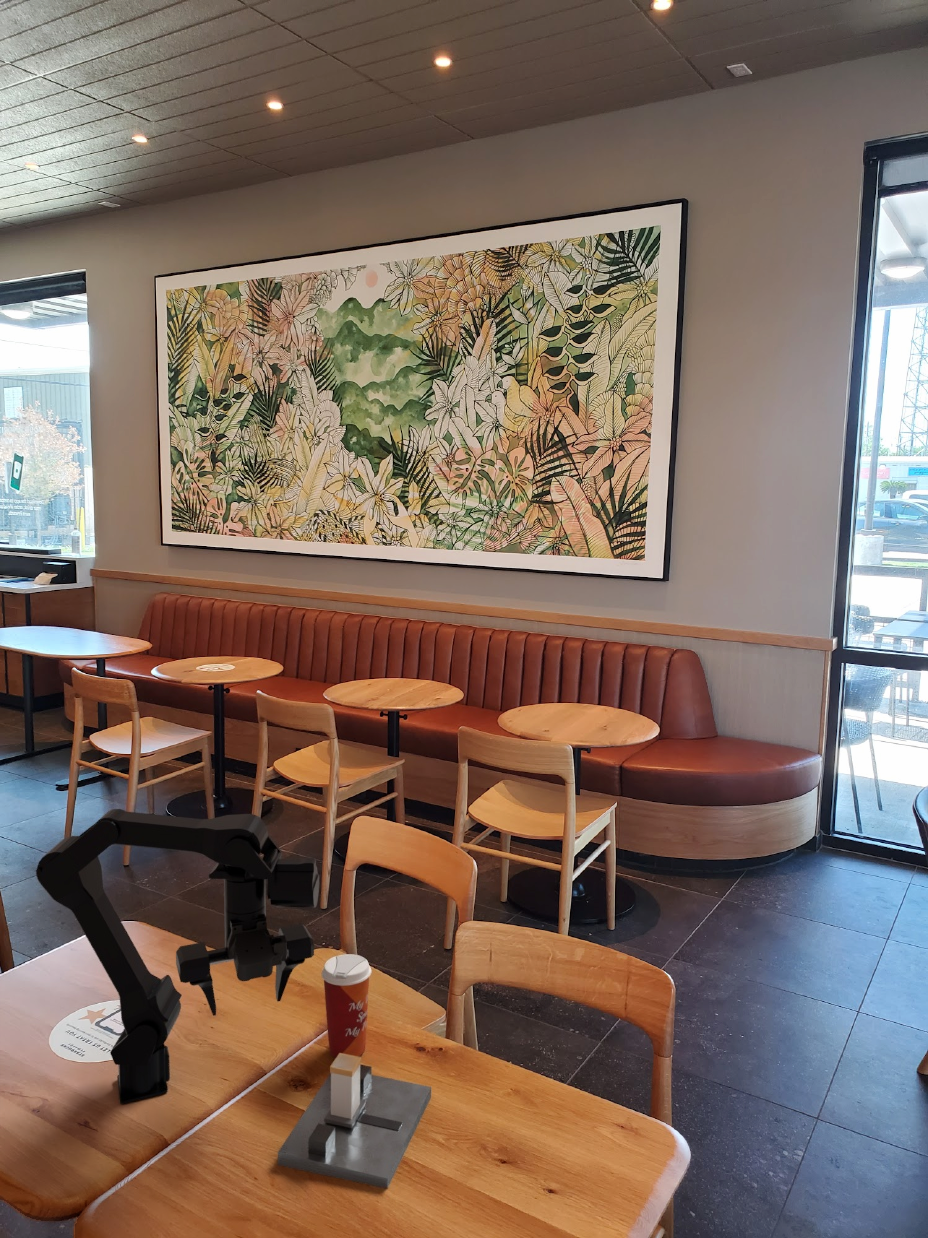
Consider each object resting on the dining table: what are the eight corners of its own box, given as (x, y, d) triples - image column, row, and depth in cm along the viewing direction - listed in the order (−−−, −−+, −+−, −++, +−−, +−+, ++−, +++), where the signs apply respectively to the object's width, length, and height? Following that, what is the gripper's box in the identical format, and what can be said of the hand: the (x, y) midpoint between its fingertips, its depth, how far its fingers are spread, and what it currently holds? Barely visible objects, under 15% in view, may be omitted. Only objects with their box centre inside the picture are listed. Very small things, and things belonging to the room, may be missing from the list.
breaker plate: (277, 1166, 113) (277, 1138, 113) (334, 1079, 130) (334, 1054, 130) (387, 1193, 109) (387, 1164, 109) (430, 1100, 126) (431, 1074, 126)
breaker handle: (324, 1122, 118) (324, 1070, 117) (339, 1098, 123) (339, 1048, 122) (351, 1128, 117) (352, 1076, 116) (365, 1104, 122) (366, 1054, 121)
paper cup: (363, 1067, 133) (362, 979, 131) (315, 1061, 134) (313, 974, 133) (378, 1037, 141) (377, 954, 139) (332, 1032, 142) (331, 949, 141)
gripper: (184, 943, 114) (187, 1055, 116) (324, 918, 122) (324, 1022, 124) (174, 907, 124) (176, 1010, 126) (304, 885, 132) (304, 983, 134)
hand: (246, 1007), depth 127 cm, fingers open, 9 cm apart
